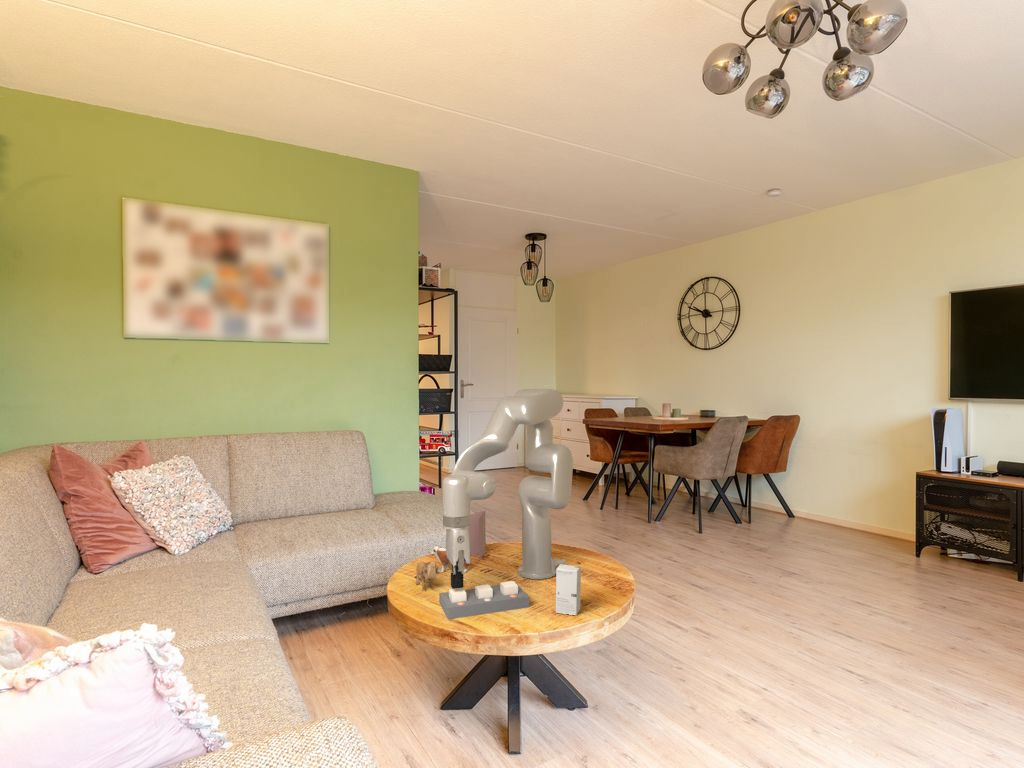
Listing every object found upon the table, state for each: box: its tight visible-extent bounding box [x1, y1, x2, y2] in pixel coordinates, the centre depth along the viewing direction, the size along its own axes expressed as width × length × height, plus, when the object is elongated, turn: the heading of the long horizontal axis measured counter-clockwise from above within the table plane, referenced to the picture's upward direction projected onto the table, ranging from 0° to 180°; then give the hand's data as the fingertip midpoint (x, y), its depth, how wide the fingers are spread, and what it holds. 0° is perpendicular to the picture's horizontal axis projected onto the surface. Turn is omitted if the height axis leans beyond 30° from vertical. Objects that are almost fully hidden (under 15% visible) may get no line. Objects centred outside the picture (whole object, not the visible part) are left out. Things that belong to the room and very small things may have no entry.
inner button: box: [499, 580, 518, 595], centre depth 160 cm, size 4×4×4 cm
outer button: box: [448, 587, 466, 603], centre depth 155 cm, size 4×4×4 cm
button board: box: [438, 582, 530, 620], centre depth 158 cm, size 23×11×3 cm, turn 109°
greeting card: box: [468, 510, 487, 562], centre depth 201 cm, size 11×7×15 cm, turn 136°
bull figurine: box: [431, 545, 472, 574], centre depth 186 cm, size 4×13×8 cm, turn 84°
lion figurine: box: [414, 561, 442, 592], centre depth 173 cm, size 15×5×9 cm, turn 34°
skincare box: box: [555, 564, 582, 616], centre depth 153 cm, size 6×4×12 cm
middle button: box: [474, 583, 493, 599], centre depth 158 cm, size 4×4×4 cm
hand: (457, 587), depth 155 cm, fingers closed
